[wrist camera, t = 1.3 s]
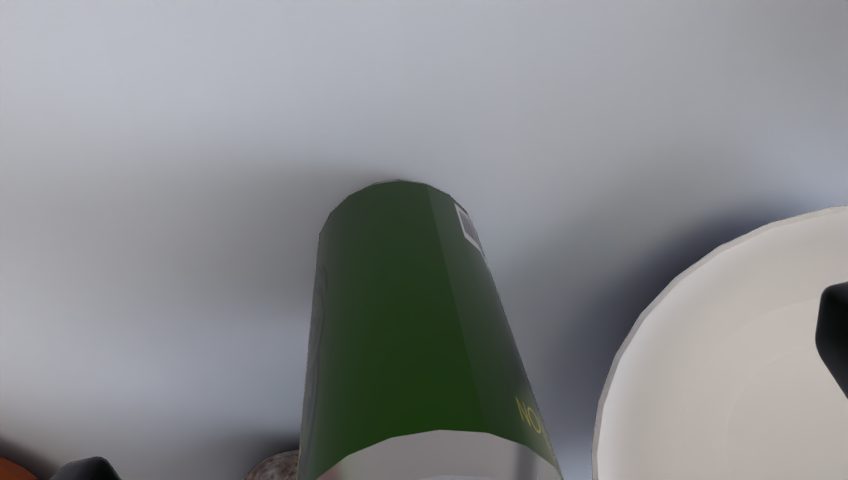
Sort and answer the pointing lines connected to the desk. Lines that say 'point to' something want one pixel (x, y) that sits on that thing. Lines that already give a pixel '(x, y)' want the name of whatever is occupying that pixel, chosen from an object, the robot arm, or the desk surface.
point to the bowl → (732, 366)
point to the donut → (13, 471)
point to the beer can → (413, 351)
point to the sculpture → (276, 467)
